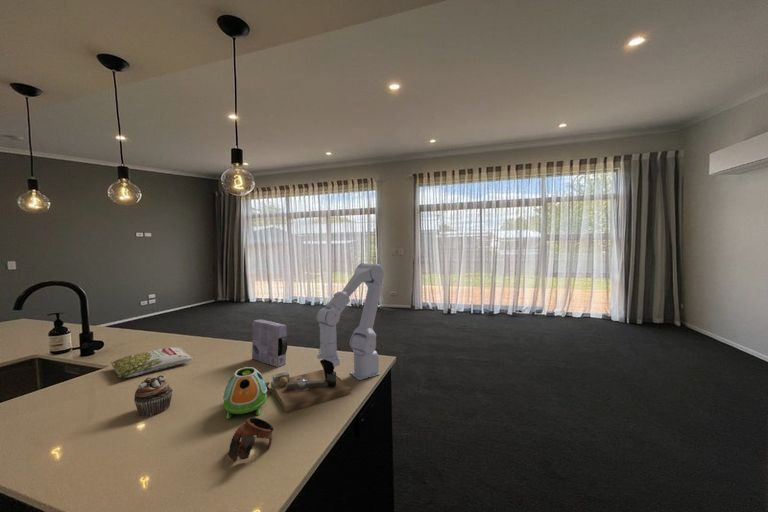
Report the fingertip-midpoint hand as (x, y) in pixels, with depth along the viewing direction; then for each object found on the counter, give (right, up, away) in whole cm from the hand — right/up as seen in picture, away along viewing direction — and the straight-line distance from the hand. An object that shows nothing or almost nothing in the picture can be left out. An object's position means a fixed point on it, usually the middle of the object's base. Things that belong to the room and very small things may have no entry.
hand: (329, 379), depth 107 cm
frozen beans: (-80, -4, +22) cm, 83 cm away
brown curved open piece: (-14, -5, -33) cm, 36 cm away
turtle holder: (-24, -4, -12) cm, 27 cm away
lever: (-5, -1, -3) cm, 6 cm away
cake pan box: (-31, -3, +26) cm, 41 cm away
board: (-7, -3, -1) cm, 7 cm away
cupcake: (-53, -5, -13) cm, 54 cm away
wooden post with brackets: (-23, -4, -5) cm, 24 cm away
